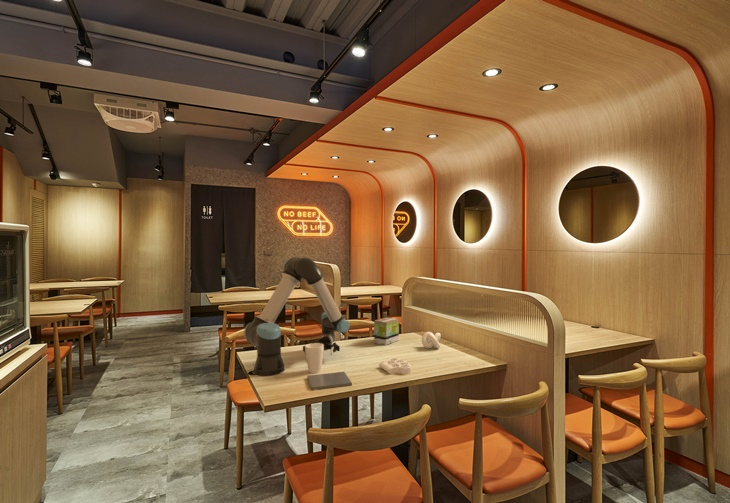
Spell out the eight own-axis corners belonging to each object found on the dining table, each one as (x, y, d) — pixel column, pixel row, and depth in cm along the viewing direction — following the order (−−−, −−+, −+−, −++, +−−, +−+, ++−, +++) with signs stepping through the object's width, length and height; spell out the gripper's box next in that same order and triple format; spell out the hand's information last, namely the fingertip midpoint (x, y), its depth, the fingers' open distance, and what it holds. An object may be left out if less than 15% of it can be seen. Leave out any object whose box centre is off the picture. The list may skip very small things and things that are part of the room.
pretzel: (420, 349, 229) (420, 334, 228) (423, 344, 240) (423, 330, 240) (439, 350, 225) (439, 335, 225) (441, 345, 237) (441, 331, 237)
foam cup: (326, 368, 196) (325, 343, 196) (322, 374, 187) (321, 348, 187) (308, 368, 197) (307, 343, 197) (303, 374, 188) (302, 347, 188)
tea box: (386, 345, 239) (386, 322, 239) (373, 343, 245) (373, 320, 245) (399, 340, 251) (399, 318, 251) (386, 338, 257) (386, 316, 257)
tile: (311, 390, 167) (311, 387, 167) (307, 378, 182) (307, 375, 182) (351, 385, 172) (351, 382, 172) (344, 374, 187) (344, 371, 187)
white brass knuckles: (376, 366, 199) (401, 362, 205) (391, 377, 183) (418, 373, 188) (376, 360, 199) (401, 356, 205) (391, 370, 182) (418, 366, 188)
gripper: (346, 348, 221) (342, 359, 200) (304, 348, 223) (295, 359, 202) (346, 335, 221) (341, 345, 200) (304, 336, 223) (295, 345, 202)
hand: (318, 352), depth 201 cm, fingers open, 13 cm apart
